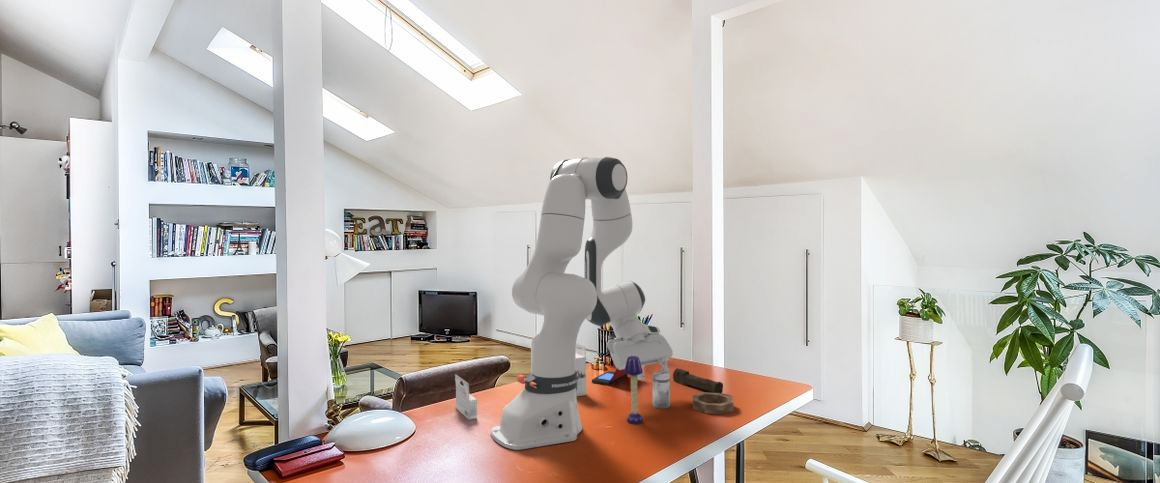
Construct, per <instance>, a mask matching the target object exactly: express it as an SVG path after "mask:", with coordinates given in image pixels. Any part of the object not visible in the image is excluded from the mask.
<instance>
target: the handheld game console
mask: <svg viewBox="0 0 1160 483" xmlns="http://www.w3.org/2000/svg"><path fill="white" fill-rule="evenodd" d="M627 377H628V374H626V373H625V369H622V370H619V369H617V368H616V369H615V371H606V372H604V373H602V374H600V375H598V376H596V377H594V378H592V379H591V383H592V384H597V385H601V386H609V387H610V386H611V387H612V386H613V385H614V384H616V383H618V382H619V381H621V380H624V379H625V378H627Z"/></svg>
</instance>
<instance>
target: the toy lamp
mask: <svg viewBox="0 0 1160 483" xmlns="http://www.w3.org/2000/svg"><path fill="white" fill-rule="evenodd" d="M642 372H643V367H642V366H641V363H640V360H639V358H638V357H637V356H630V357H628V358H627V362H626V366H625V373H626V374H627V376H628V375H629V376H630V390H631V391H630V400H631V404H630V406H631V410H630V411H631V413H630V414H629V413H628V416H627V417H626V422H628V423H629V424H634V425H638V424H641V423H643V422H644V418H643V416H642V415H641V414H640V413H639V408H638V407H639V398H638V396H639V392H638V387H639V386H638V381H639V380H638V379H637V375H639V374H641V373H642ZM643 373H644V372H643Z"/></svg>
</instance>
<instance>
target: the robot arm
mask: <svg viewBox="0 0 1160 483" xmlns="http://www.w3.org/2000/svg"><path fill="white" fill-rule="evenodd" d="M627 184H628V172H627V168H626V166H625V164H624V163H622V161H621V160H620V159H618V158H615V157H608V156H605V157H587V156H586V157H579V158H573V159H565V160H564V159H563V160H561V161H559V162H557V163H556V164H555V165H554V166H553V168H552V170H551V172H550V177H549V182H548V185H547V187H546V190H545V194H544V198H543V202H542V207H541V213H540V219H539V220H540V221H539V227H538V233H537V239H536V243H535V244H536V245H535V248H534V250H533V254H532V256H531V258H530V260H529V262H528V264H527V266H526V268H525V269H524V271H523V272H522V273H521V274H520V275H519V276H517V277H516V279H515V280H514V282H513V285H512V288H511V297H512V300H513V302H514V304H516V306H517V307H519V308H521V309H522V310H523V311H526V312H527V313H530V314H532V315H533V314H534V315H540V316H543V323H542V328H541V331H540V332H539V333H538V334H537V335H535V336H534V337H533V338H532V340H531V343H530V372H529V374H528V375H527V376H525V375H523V374H522V373H521V374H518V375H517V376H516V381H517V382H518V383H520V384H522V385H524V389H522V390H521V391H520V392H519V393H518V394H517V395H516V396H515V397H514V398H513V399H512V400H511V401H510V402H509V403H508V404H506V405H505V406H504V407H503V409H502V412H501V416H500V417H501V418H500V423H499V425H495V426H493V427H492V428H491V430H490V436H491V438H492V439H493V440H494V441H495V442H497V443H498V444H499V445H500V446H502V447H504V448H506V449H509V450H515V451H521V450H527V449H533V448H539V447H544V446H545V447H546V446H550V445H556V444H562V443H568V442H574V441H576V440H577V439H578V435H579V433H581V431H582V430H583V425H582V423H581V417H580V413H579V408H578V399H577V398H578V397H576V391H577V372H576V371H575V357H576V343H577V340H578V336H579V335H578V334H579V332H580V330H581V327H582V325H583V323H584V321H585V320H587V321H588V322H589V323H591V324H593V325H594V326H595V325H596V326H597V327H602V326H605V325H607V324H609V325H610V327H611V328H612V329H613V332H614V333H613V334H614V335H615V337H616V339H615V338H614V339H613V338H612V339H610V340H608V342H607V344H606V348H607V350H608V351H609V354H610V356H611V359H612V361H613V365H614V367H615V368H616V369H619V370H622V369H625V366H626V362H627V358H628V357H630V356H637V357H638V358H639V360H640V363H641V367H642V366H646V365H653V364H657V363H658V364H659V366H661V369H660V370H659V372H667V373H669V374H670V369H669V368H668V361H669V360H670V359H671V358H672V357H673V355H674V353H673V352H674V350H673V348H672V346H671V345H670V343H669V342H668V340H667V339H666V337H664V335H662V334H661V330H660V328H659V327H658V326H655V325H648V324H645V323H642V321H641V320H640V319H639V317H638V315H639V314H640V313H641V312H642V310H643V308H644V306H645V302H646V296H645V293H644V291H643V290H642V288H641V287H640V286H639V285H638V283H636V282H634V281H632V280H629V281H625V282H621V283H618V284H616V285H613V286H609V287H605V288H603V289H602V266H603V263H604V261H605V260H606V259H607V258H608V256H609V255H611V254H612V253H614V252H615V250H617V249H618V248H620V247H621V246H622V245H623V244H625V243H626V242H627V241H628V239H629V237H630V236H631V234H632V232H633V216H632V208H631V206H630V205H631V204H630V200H629V196H628V192H627V190H626V187H627ZM586 200H590V206H591V207H590V208H591V216H592V222H593V224H592V231H591V234H590V236H589V237H588V239H587V240H586V241H585V246H584V277H583V276H580V275H578V274H574V273H566V269H567V267H568V265H569V263H570V262H571V261H572V259H573V258H575V257H577V255H578V254H579V253H580V251H581V249H582V244H583V234H584V227H585V217H586ZM645 377H646V376H645V374H644V372H642V373H641V374H639V375H637V381H641V380H644V379H645Z"/></svg>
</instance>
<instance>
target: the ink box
mask: <svg viewBox="0 0 1160 483" xmlns="http://www.w3.org/2000/svg"><path fill="white" fill-rule="evenodd" d="M586 355H587V350H586V346H585V345H583V344H580V343H579V342H576V357H575V371H576V372H577V391H576V398H578V397H581V396H586V395H587V358H586Z"/></svg>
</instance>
